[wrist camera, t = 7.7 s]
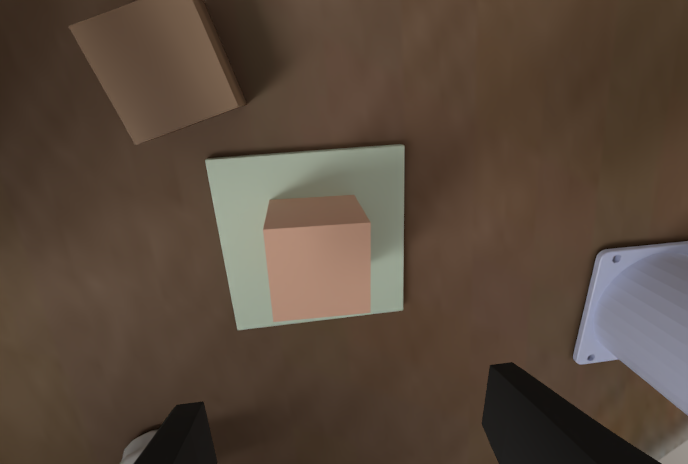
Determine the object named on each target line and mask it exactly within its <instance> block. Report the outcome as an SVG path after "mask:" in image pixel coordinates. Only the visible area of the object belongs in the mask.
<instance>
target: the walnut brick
mask: <svg viewBox="0 0 688 464" xmlns="http://www.w3.org/2000/svg"><path fill="white" fill-rule="evenodd" d="M68 27H69V29H70V30H71V32H72V34H73V36H74V37H75V39H76V41H77V43H78V45H79V46H80V48H81V50H82V52H83V53H84V55H85V57H86V59H87V60H88V62H89V64H90V66H91V68H92V69H93V71H94V73H95V75H96V76H97V78H98V80H99V82H100V84H101V85H102V87H103V89H104V91H105V92H106V94H107V96H108V98H109V99H110V101H111V103H112V105H113V107H114V108H115V110H116V112H117V114H118V115H119V117H120V119H121V121H122V123H123V124H124V126H125V128H126V130H127V131H128V133H129V135H130V137H131V138H132V140H133V142H134V144H135V145H137V144H140V143H143V142H146V141H149V140H152V139H155V138H158V137H161V136H163V135H166V134H169V133H171V132H174V131H177V130H179V129H182V128H185V127H187V126H190V125H193V124H196V123H198V122H201V121H204V120H206V119H209V118H212V117H214V116H217V115H220V114H222V113H225V112H228V111H230V110H233V109H236V108H238V107H241V106H244V105H246V104H247V103H246V100H245V98H244V96H243V93H242V91H241V89H240V86H239V84H238V81H237V79H236V77H235V74H234V72H233V70H232V67H231V65H230V63H229V60H228V58H227V56H226V53H225V51H224V48H223V46H222V44H221V41H220V39H219V37H218V34H217V32H216V30H215V27H214V25H213V23H212V20H211V18H210V15H209V13H208V11H207V8H206V6H205V4H204V2H203V1H202V0H137V1H134V2H132V3H129V4H126V5H124V6H121V7H118V8H116V9H113V10H110V11H108V12H105V13H102V14H99V15H97V16H94V17H91V18H89V19H86V20H83V21H81V22H78V23H75V24H72V25H70V26H68Z"/></svg>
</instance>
